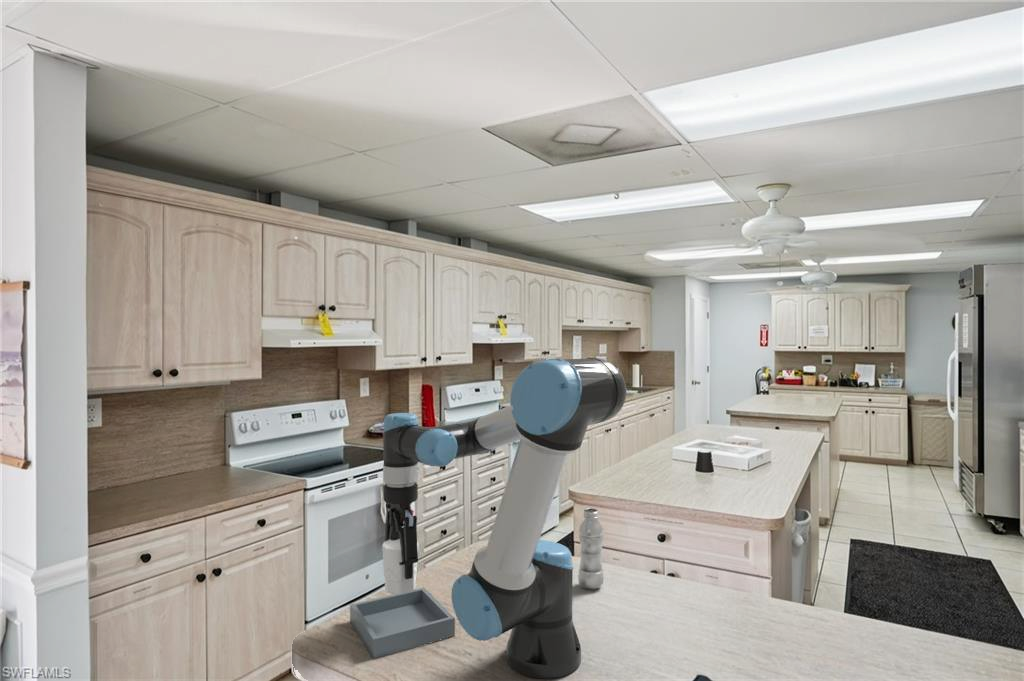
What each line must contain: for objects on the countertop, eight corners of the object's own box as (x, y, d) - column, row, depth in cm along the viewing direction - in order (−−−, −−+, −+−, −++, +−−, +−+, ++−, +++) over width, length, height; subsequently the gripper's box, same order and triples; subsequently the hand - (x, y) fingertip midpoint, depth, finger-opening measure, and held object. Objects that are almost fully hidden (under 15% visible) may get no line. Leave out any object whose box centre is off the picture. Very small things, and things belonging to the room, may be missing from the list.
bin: (454, 636, 128) (454, 617, 128) (373, 659, 119) (373, 639, 119) (424, 603, 144) (424, 587, 144) (350, 621, 135) (350, 604, 135)
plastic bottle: (573, 584, 155) (573, 508, 154) (595, 580, 157) (595, 505, 157) (586, 594, 149) (586, 515, 149) (608, 589, 152) (608, 512, 151)
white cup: (422, 581, 135) (422, 537, 135) (413, 596, 127) (413, 550, 127) (388, 579, 136) (388, 536, 136) (377, 594, 128) (377, 549, 128)
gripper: (434, 491, 124) (434, 599, 125) (401, 471, 142) (401, 565, 142) (399, 496, 121) (399, 607, 121) (370, 475, 138) (370, 572, 139)
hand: (400, 584), depth 132 cm, fingers closed on white cup, 7 cm apart
